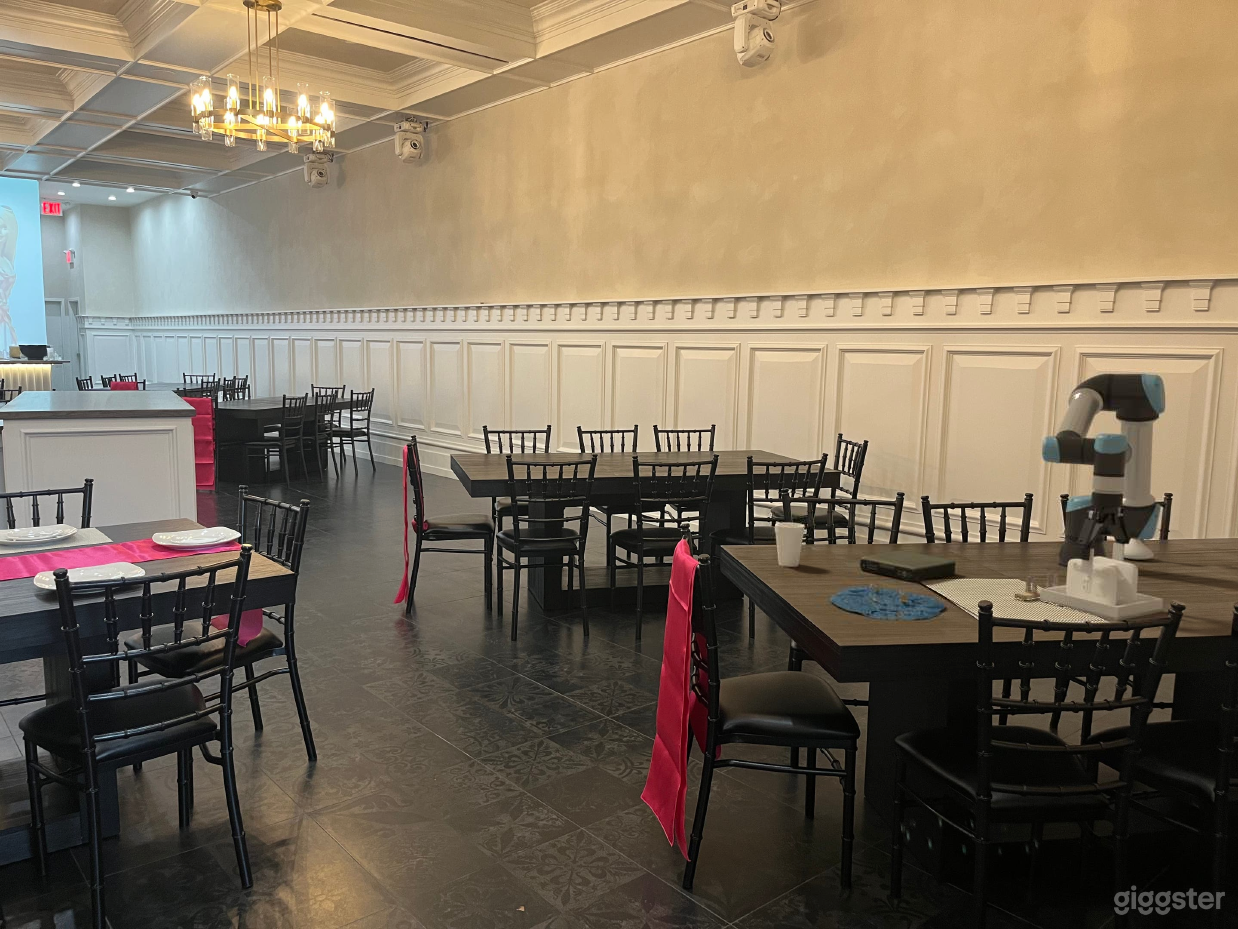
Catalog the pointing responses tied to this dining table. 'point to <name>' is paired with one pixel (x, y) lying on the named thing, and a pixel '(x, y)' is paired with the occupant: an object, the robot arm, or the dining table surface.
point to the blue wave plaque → (887, 603)
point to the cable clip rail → (1034, 592)
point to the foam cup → (789, 543)
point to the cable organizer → (1103, 581)
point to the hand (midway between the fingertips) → (1102, 569)
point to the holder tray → (1103, 604)
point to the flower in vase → (1137, 550)
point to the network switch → (908, 565)
